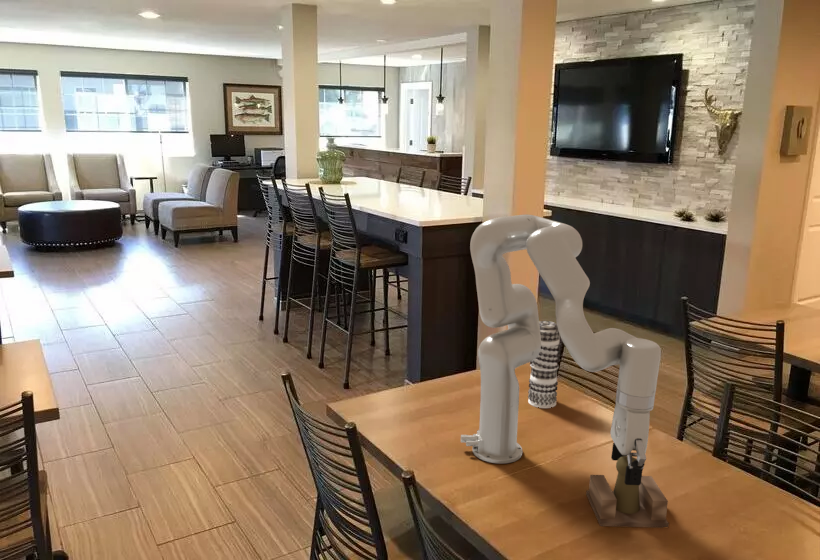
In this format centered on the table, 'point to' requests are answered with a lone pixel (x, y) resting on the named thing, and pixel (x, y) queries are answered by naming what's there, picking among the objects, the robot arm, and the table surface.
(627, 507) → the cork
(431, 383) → the table surface
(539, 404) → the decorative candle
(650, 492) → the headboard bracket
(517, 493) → the table surface
